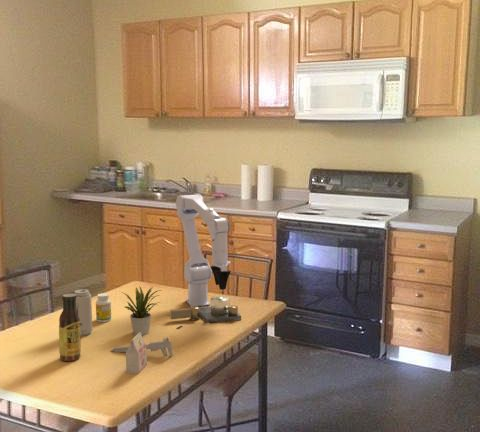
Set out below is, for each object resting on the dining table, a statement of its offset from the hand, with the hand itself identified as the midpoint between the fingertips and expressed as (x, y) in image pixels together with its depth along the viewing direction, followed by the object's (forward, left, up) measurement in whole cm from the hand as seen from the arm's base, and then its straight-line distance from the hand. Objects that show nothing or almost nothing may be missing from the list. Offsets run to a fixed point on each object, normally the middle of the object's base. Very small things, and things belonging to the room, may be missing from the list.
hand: (220, 286), depth 214 cm
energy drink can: (+3, -50, -12) cm, 51 cm away
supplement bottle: (-9, -42, -12) cm, 44 cm away
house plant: (+9, -30, -12) cm, 33 cm away
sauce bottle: (+24, -55, -12) cm, 61 cm away
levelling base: (0, -6, -11) cm, 13 cm away
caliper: (+27, -34, -12) cm, 45 cm away
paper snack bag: (+38, -37, -12) cm, 54 cm away
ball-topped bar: (0, -14, -11) cm, 17 cm away
